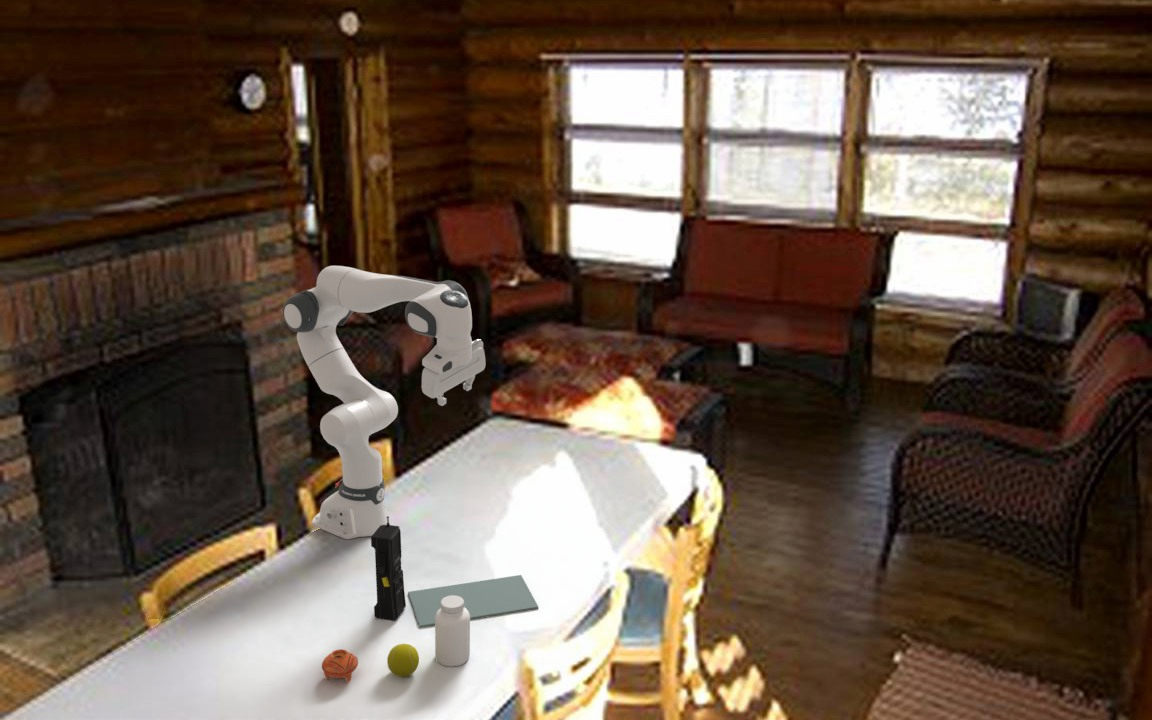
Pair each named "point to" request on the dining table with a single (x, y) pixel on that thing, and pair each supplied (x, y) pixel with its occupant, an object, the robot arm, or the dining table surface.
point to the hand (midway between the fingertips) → (454, 396)
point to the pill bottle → (452, 632)
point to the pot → (339, 664)
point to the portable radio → (388, 572)
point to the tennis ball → (403, 660)
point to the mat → (475, 598)
